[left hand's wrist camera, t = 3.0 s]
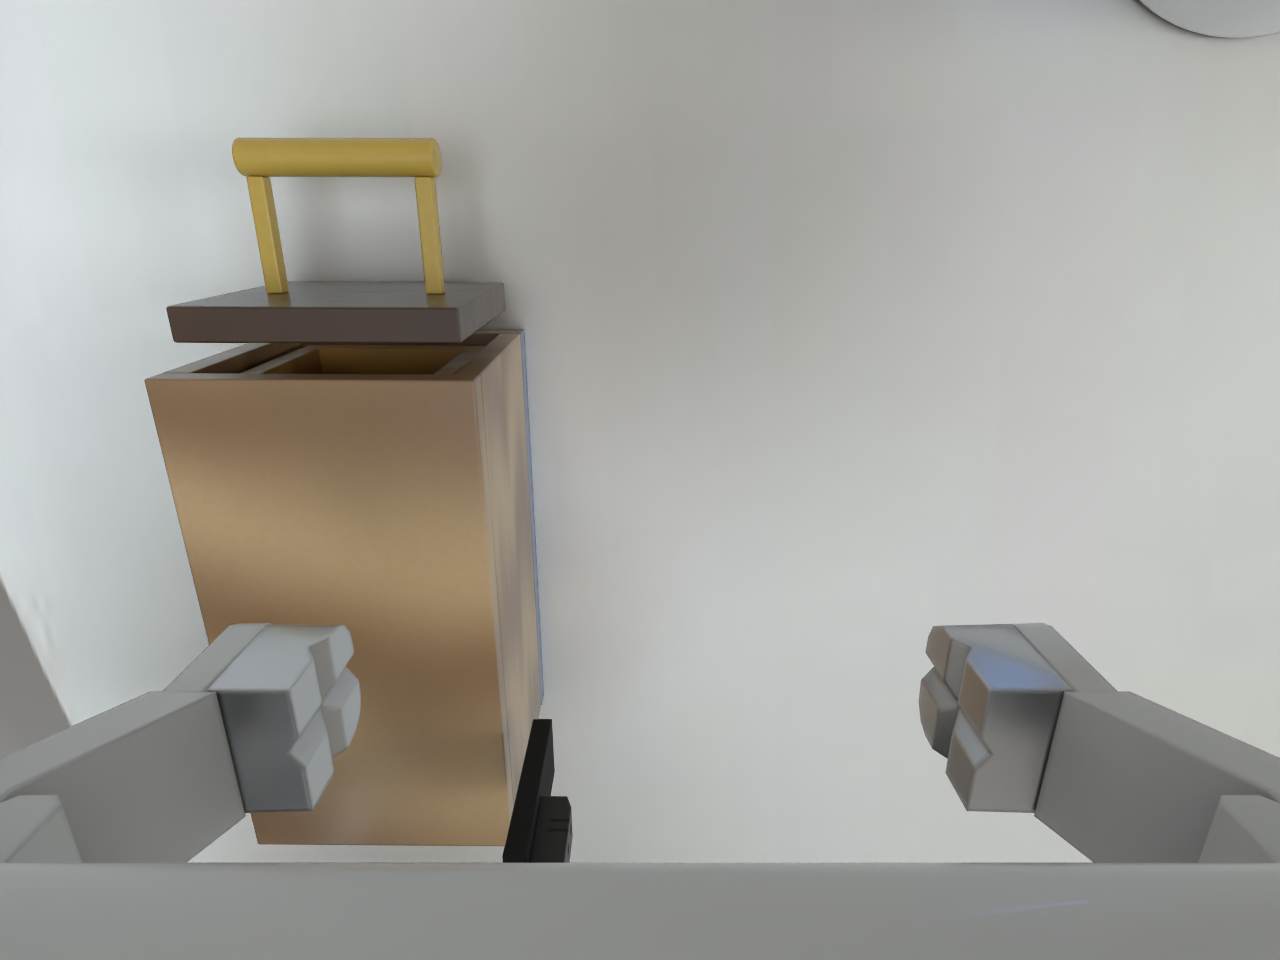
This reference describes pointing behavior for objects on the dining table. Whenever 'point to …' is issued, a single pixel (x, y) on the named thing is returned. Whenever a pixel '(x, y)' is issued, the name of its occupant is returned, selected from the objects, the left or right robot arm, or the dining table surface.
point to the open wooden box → (377, 567)
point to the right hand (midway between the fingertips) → (379, 742)
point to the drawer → (344, 305)
